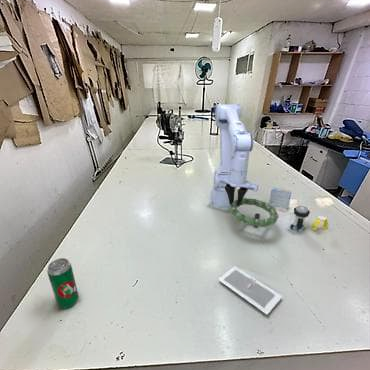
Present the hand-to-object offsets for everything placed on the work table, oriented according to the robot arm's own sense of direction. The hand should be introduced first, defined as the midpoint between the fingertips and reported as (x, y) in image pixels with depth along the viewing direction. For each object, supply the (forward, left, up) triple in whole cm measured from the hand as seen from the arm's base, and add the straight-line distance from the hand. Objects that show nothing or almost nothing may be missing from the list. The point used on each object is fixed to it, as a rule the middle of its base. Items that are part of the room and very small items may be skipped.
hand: (234, 204), depth 86 cm
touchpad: (+15, -25, -11) cm, 32 cm away
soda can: (-22, -54, -11) cm, 60 cm away
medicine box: (+10, +28, -11) cm, 31 cm away
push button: (+21, +13, -11) cm, 27 cm away
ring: (+7, 0, -1) cm, 7 cm away
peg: (+7, +5, -10) cm, 14 cm away
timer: (+28, +17, -9) cm, 34 cm away
